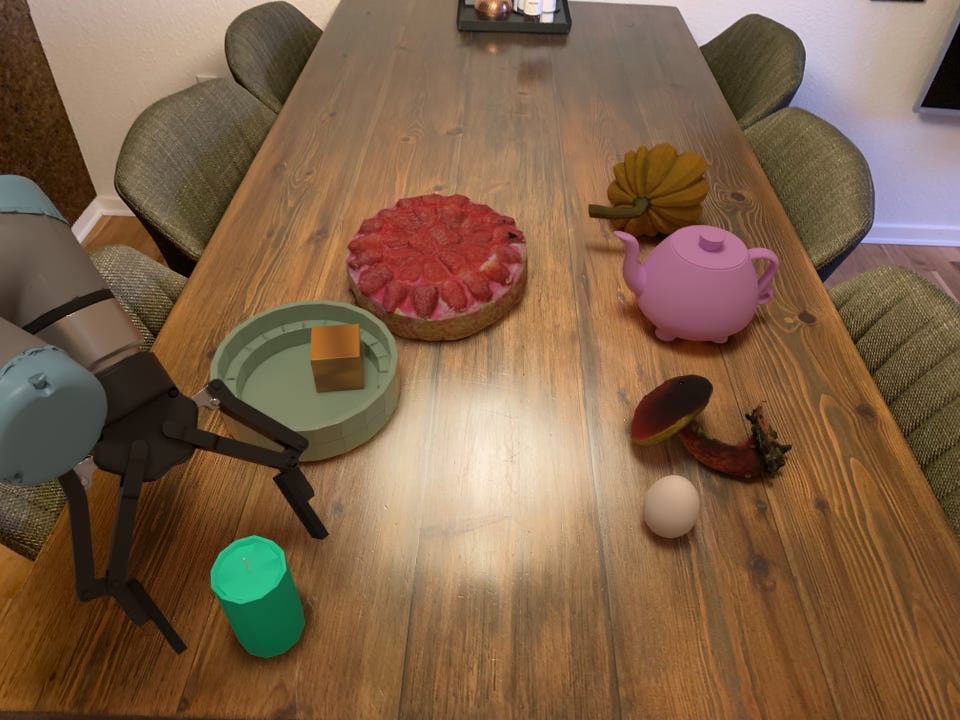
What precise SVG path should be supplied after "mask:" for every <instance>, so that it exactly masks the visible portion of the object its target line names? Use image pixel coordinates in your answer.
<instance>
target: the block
mask: <svg viewBox="0 0 960 720" xmlns="http://www.w3.org/2000/svg"><path fill="white" fill-rule="evenodd" d="M310 362H311V367H312V372H313V377H314V382H315V386H316V391H317V393H320V392H333V391H345V390H358V389H364V368H363V351H362V343H361V335H360V328H359V324H349V325H335V326H320V327H312V331H311V351H310Z"/></svg>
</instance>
